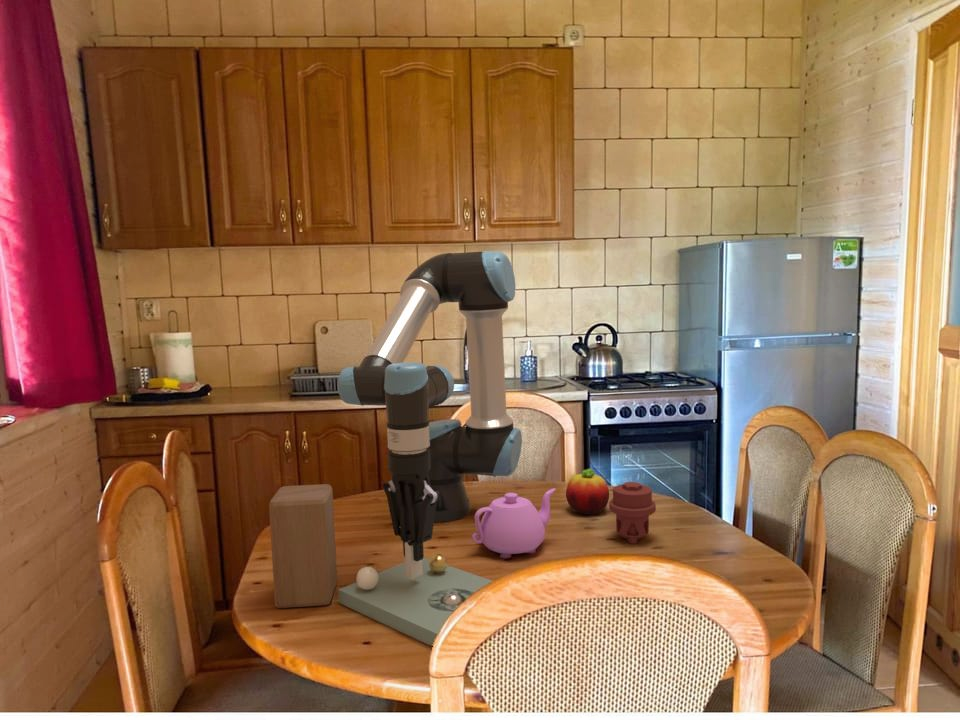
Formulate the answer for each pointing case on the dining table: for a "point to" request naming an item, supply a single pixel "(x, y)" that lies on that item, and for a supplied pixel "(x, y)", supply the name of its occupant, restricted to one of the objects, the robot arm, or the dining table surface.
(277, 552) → the wooden block
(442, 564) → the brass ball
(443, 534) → the dining table surface
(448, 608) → the board
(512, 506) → the teapot
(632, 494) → the mechanical component
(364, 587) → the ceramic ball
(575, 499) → the fruit
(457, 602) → the steel ball
